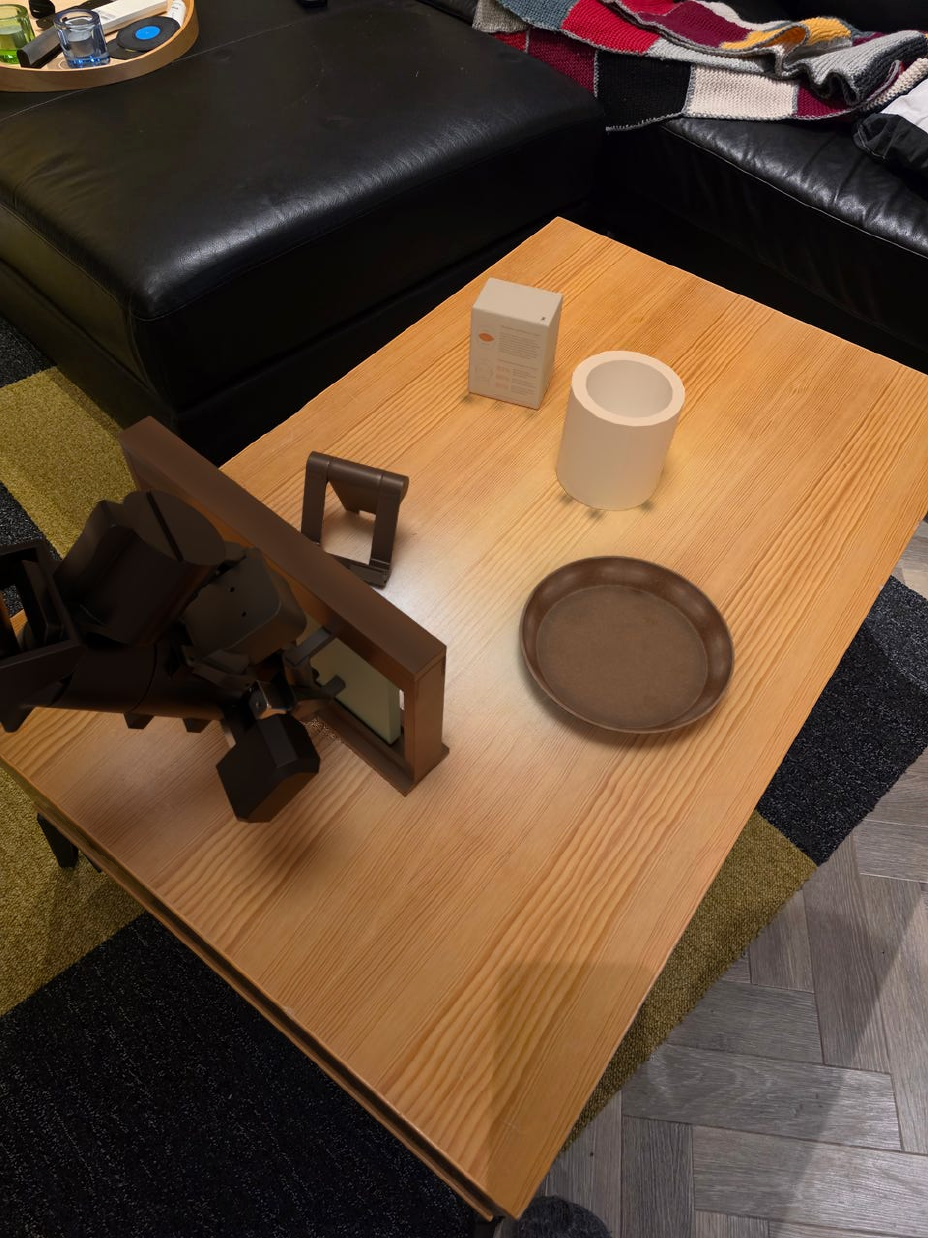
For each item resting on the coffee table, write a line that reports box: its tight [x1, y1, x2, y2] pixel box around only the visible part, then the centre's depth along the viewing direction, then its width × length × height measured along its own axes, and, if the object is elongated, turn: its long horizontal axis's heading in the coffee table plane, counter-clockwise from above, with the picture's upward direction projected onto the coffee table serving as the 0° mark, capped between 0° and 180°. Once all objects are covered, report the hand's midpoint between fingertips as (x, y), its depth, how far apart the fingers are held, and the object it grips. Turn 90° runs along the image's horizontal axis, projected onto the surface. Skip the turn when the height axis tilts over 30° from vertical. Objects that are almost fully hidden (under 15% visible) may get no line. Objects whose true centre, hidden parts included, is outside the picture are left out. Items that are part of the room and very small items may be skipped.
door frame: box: [116, 415, 451, 797], centre depth 66 cm, size 5×30×16 cm, turn 48°
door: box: [282, 610, 401, 745], centre depth 63 cm, size 6×10×12 cm, turn 48°
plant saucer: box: [518, 555, 736, 735], centre depth 73 cm, size 18×18×3 cm
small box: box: [467, 276, 564, 410], centre depth 89 cm, size 8×6×10 cm
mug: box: [555, 350, 686, 512], centre depth 83 cm, size 14×10×11 cm
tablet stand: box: [300, 450, 410, 587], centre depth 77 cm, size 9×8×8 cm
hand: (321, 689), depth 63 cm, fingers closed on door, 2 cm apart
